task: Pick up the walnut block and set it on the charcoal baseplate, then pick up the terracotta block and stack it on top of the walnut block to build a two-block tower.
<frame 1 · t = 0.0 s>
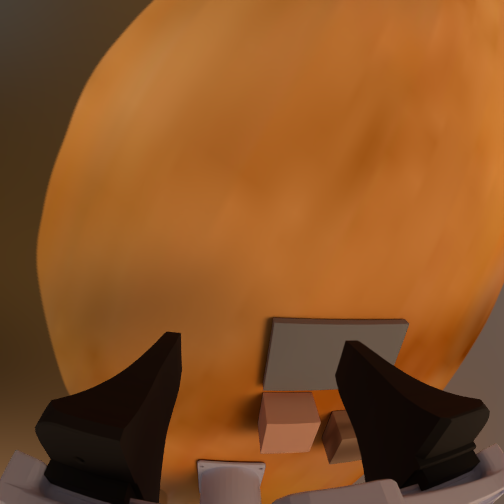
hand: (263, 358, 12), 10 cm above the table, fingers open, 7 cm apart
walnut brick: (346, 423, 28), on the table
baseplate: (336, 354, 25), on the table
terracotta brick: (283, 408, 26), on the table
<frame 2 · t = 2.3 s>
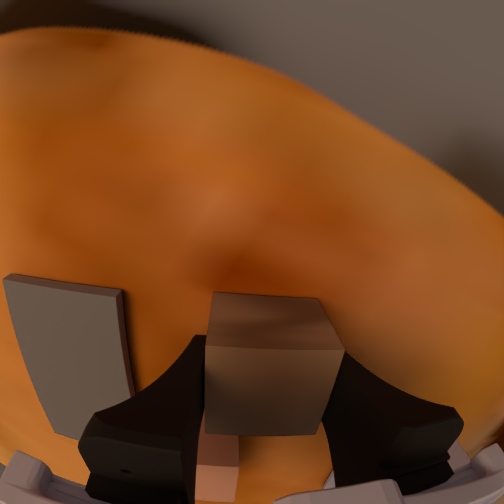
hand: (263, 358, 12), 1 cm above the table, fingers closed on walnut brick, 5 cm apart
walnut brick: (260, 339, 14), on the table, touching gripper
baseplate: (79, 376, 14), on the table
terracotta brick: (197, 431, 16), on the table
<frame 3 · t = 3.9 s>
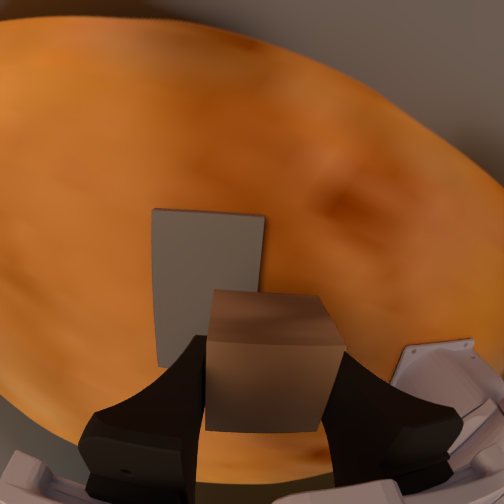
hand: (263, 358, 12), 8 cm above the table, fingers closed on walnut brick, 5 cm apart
walnut brick: (261, 336, 14), point 7 cm above the table, touching gripper
baseplate: (204, 297, 21), on the table
when the fingers open (4 cm above the table, at t = 5.5 s): walnut brick drops 2 cm, resting on baseplate.
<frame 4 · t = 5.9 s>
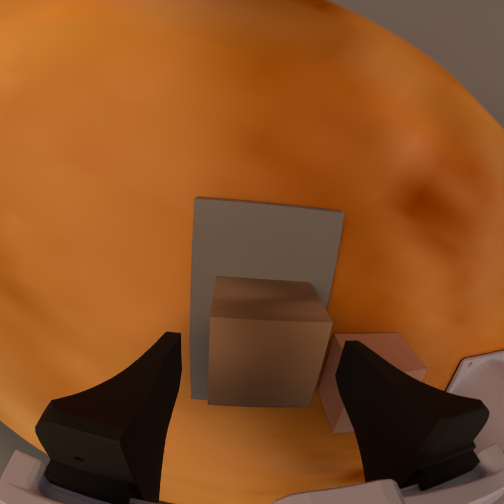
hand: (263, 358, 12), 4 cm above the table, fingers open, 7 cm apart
walnut brick: (259, 320, 15), point 1 cm above the table, touching baseplate
baseplate: (257, 314, 16), on the table
terracotta brick: (358, 362, 18), on the table
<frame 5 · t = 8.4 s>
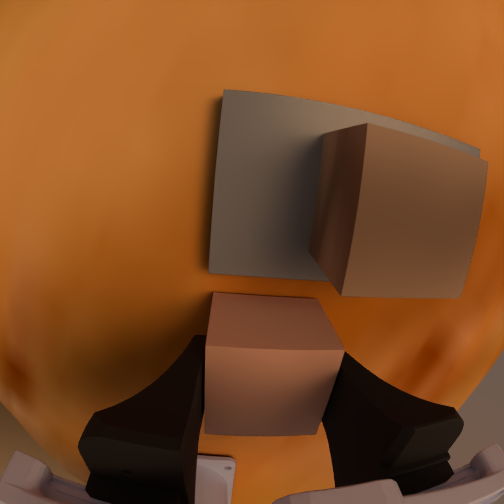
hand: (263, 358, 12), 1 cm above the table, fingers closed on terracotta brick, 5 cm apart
walnut brick: (371, 201, 11), point 1 cm above the table, touching baseplate
baseplate: (361, 197, 12), on the table
terracotta brick: (260, 339, 14), on the table, touching gripper
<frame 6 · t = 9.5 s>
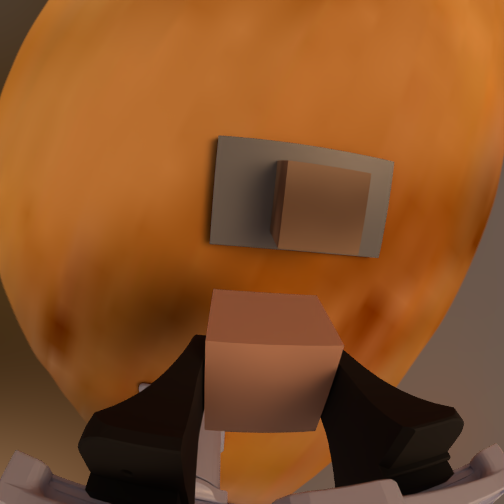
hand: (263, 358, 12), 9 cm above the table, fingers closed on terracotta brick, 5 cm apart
walnut brick: (308, 199, 19), point 1 cm above the table, touching baseplate
baseplate: (304, 197, 20), on the table
terracotta brick: (260, 336, 14), point 8 cm above the table, touching gripper
when the fingers open (7 cm above the table, at t = 10.8 s): terracotta brick drops 1 cm, resting on walnut brick.
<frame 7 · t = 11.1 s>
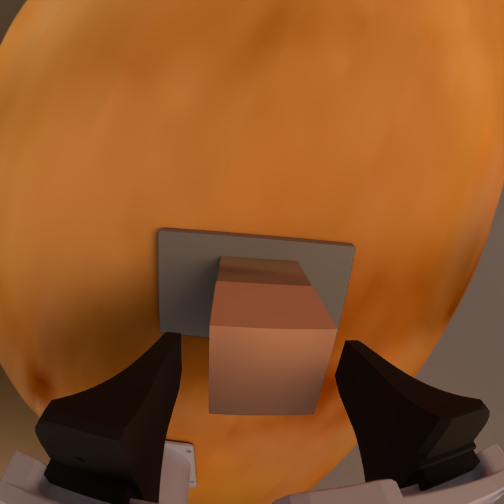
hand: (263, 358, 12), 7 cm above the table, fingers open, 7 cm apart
walnut brick: (256, 293, 19), point 1 cm above the table, touching baseplate, terracotta brick
baseplate: (253, 288, 19), on the table
terracotta brick: (260, 325, 15), point 5 cm above the table, touching walnut brick
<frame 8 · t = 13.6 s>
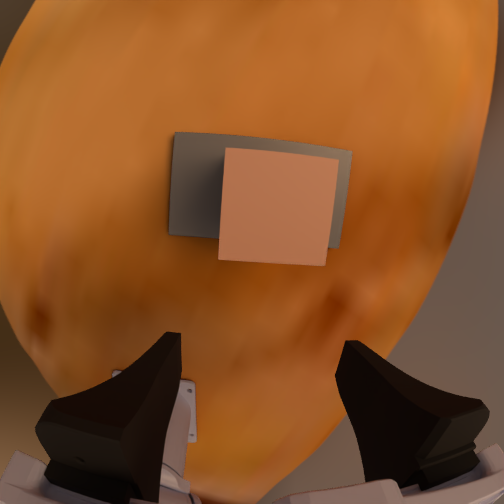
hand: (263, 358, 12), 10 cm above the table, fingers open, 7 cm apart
baseplate: (260, 189, 21), on the table
terracotta brick: (268, 196, 16), point 5 cm above the table, touching walnut brick
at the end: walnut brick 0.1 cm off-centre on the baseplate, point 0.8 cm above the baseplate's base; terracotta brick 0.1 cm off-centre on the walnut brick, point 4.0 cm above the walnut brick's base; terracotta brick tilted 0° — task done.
